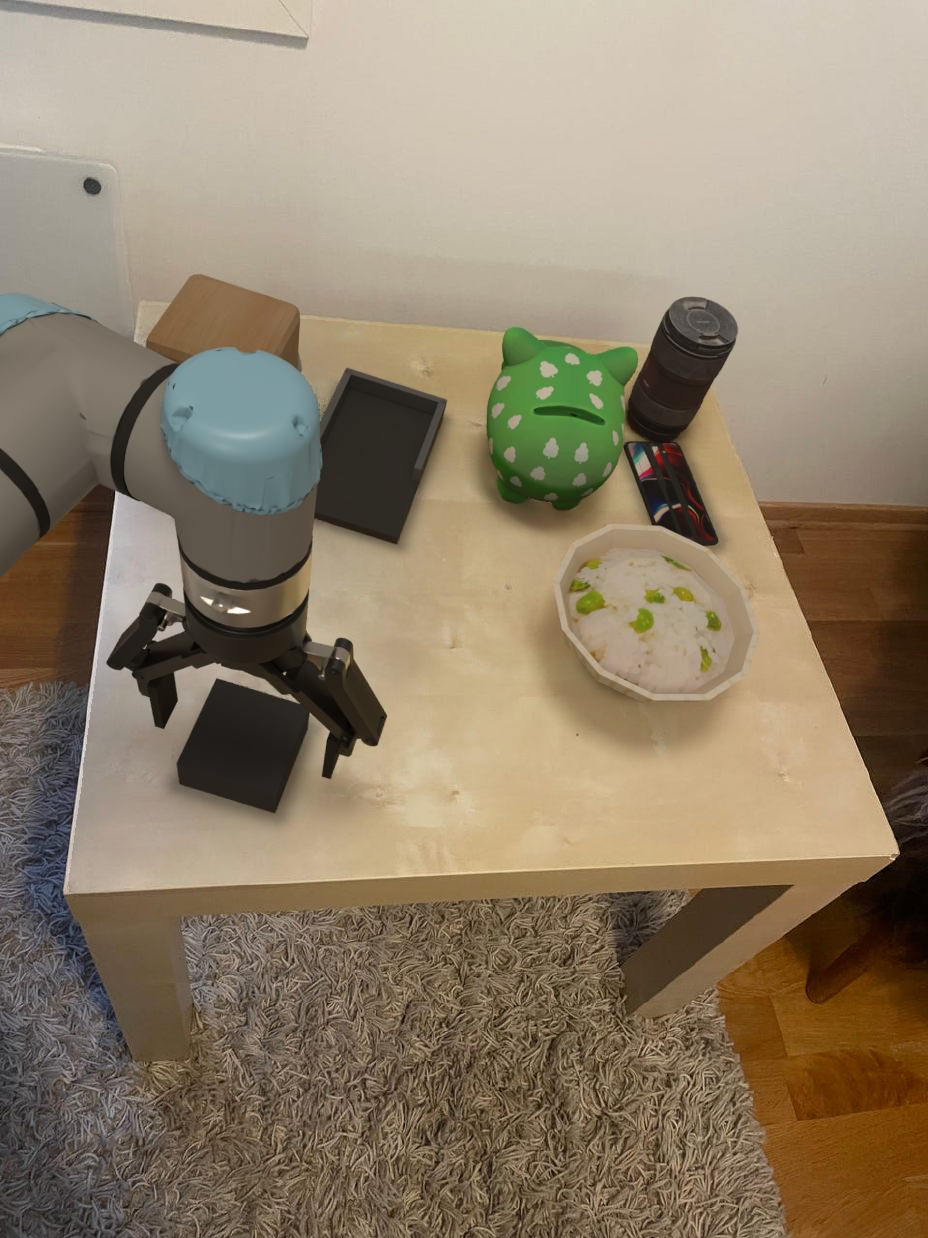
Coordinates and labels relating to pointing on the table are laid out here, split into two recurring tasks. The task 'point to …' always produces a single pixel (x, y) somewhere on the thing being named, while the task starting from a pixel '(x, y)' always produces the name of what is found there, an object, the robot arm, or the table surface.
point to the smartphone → (670, 490)
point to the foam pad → (243, 745)
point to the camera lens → (680, 367)
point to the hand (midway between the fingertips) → (249, 738)
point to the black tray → (374, 453)
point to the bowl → (654, 614)
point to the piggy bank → (556, 418)
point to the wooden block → (225, 322)
